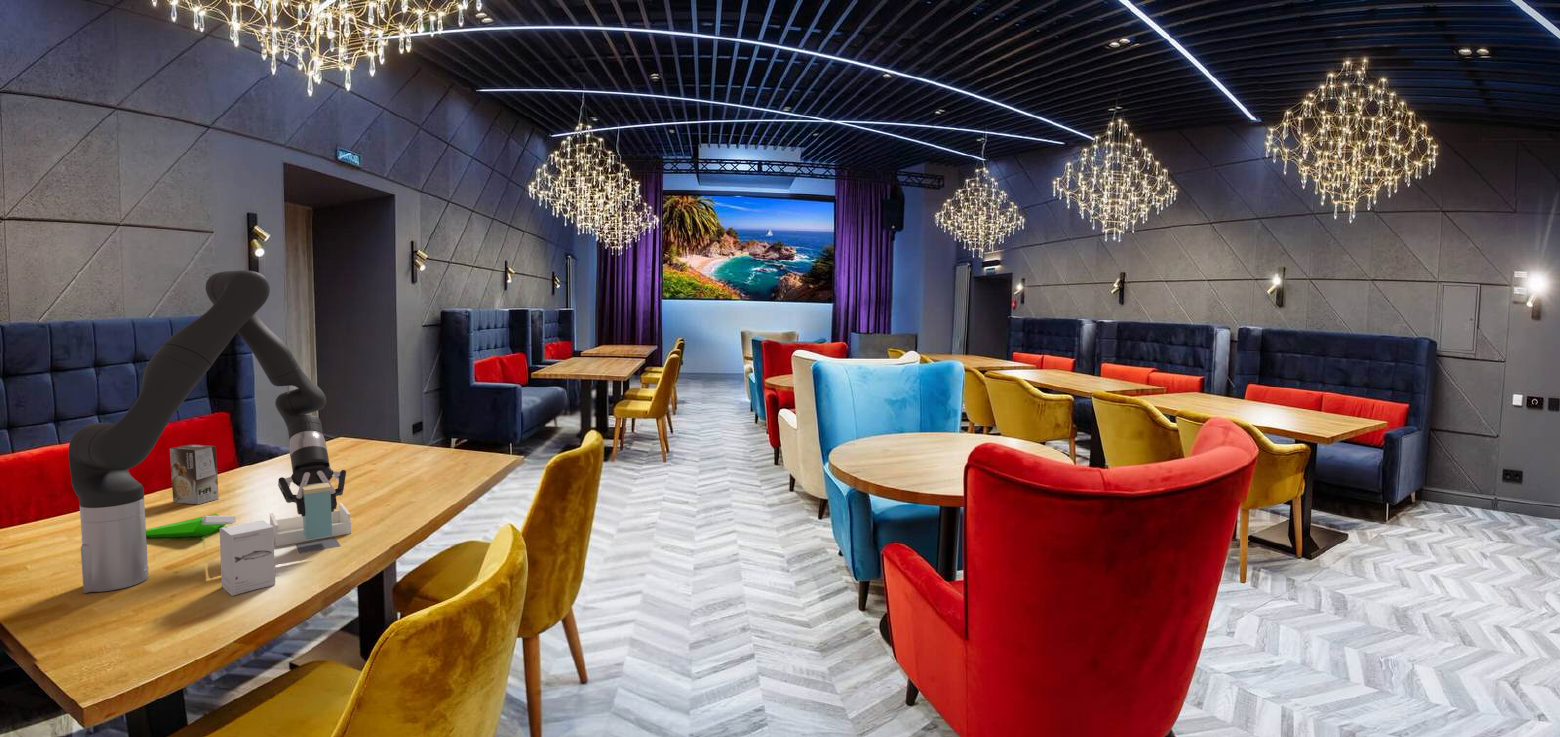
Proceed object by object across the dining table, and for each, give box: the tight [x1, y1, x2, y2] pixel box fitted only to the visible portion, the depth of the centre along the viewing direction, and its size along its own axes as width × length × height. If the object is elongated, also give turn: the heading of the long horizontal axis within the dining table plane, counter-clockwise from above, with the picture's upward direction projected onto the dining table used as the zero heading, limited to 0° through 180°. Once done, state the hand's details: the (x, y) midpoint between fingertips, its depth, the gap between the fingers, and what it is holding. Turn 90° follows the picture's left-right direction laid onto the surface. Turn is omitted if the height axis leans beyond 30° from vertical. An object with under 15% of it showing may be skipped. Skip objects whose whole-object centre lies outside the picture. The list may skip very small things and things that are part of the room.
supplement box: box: [218, 519, 276, 597], centre depth 134 cm, size 7×7×13 cm
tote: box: [269, 502, 352, 547], centre depth 165 cm, size 15×13×6 cm
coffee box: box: [169, 444, 220, 505], centre depth 190 cm, size 9×6×16 cm
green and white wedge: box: [146, 513, 236, 538], centre depth 162 cm, size 11×5×25 cm
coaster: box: [294, 536, 341, 555], centre depth 157 cm, size 8×8×1 cm
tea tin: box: [302, 483, 332, 540], centre depth 157 cm, size 5×5×12 cm
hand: (318, 512), depth 155 cm, fingers closed on tea tin, 5 cm apart
